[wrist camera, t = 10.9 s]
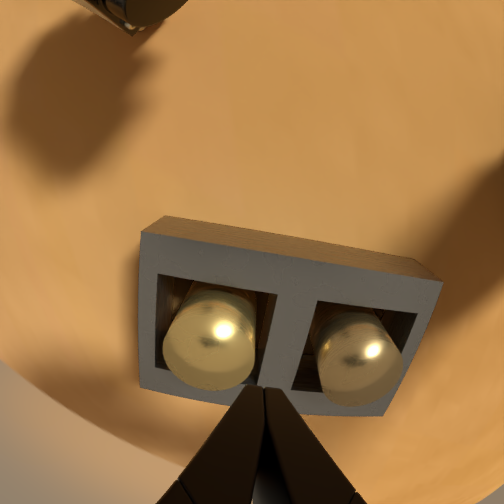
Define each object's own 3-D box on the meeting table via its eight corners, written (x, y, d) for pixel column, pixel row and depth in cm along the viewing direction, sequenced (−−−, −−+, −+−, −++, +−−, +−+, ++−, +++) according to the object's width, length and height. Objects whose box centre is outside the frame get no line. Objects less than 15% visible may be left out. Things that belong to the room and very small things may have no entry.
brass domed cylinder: (262, 275, 19) (262, 325, 14) (250, 336, 21) (246, 396, 15) (191, 263, 19) (164, 308, 14) (185, 324, 21) (162, 381, 15)
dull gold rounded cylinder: (379, 295, 20) (415, 343, 14) (359, 350, 21) (384, 407, 15) (316, 285, 19) (336, 336, 14) (300, 344, 21) (311, 404, 15)
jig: (414, 259, 19) (443, 282, 15) (368, 380, 22) (382, 416, 18) (164, 215, 18) (140, 231, 15) (157, 352, 21) (140, 387, 18)
